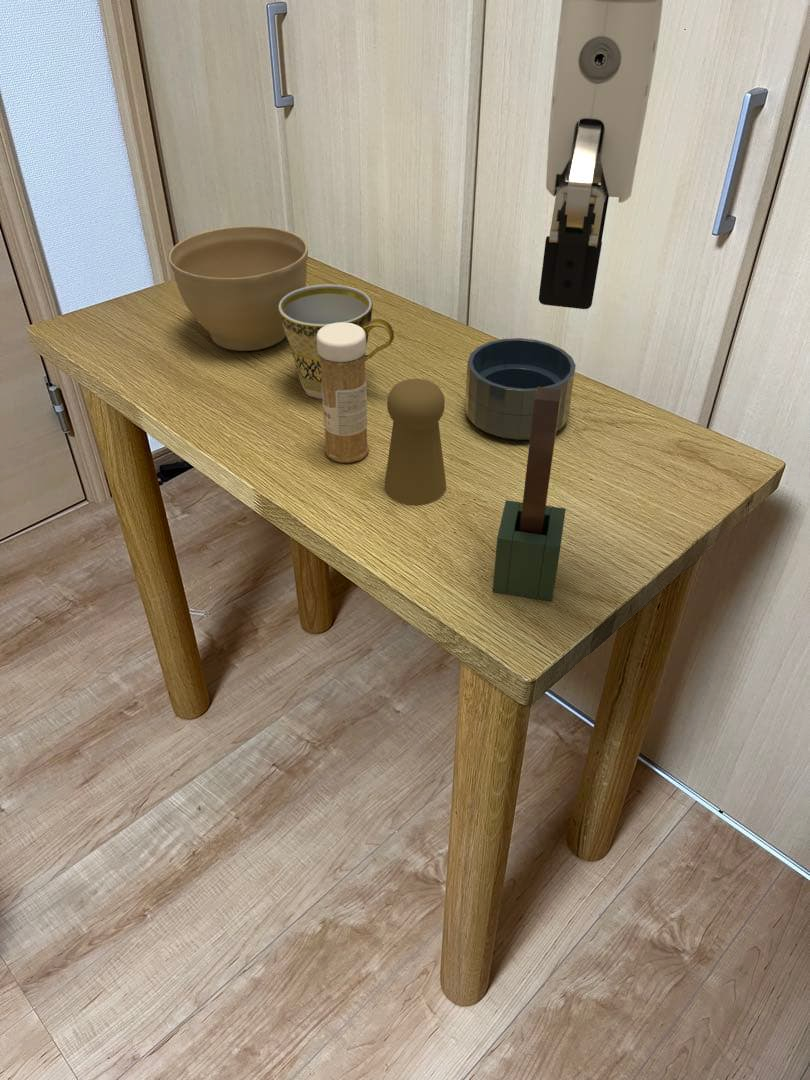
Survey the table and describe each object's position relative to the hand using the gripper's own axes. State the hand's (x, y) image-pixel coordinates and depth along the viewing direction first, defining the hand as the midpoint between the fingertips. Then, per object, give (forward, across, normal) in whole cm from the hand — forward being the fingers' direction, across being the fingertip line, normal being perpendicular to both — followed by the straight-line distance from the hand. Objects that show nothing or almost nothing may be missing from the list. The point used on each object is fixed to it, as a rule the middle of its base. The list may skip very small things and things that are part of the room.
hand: (571, 272), depth 55 cm
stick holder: (+27, 0, 0) cm, 27 cm away
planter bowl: (+28, +36, +39) cm, 60 cm away
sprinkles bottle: (+28, +14, +20) cm, 37 cm away
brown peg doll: (+27, +10, +12) cm, 32 cm away
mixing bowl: (+27, +25, +4) cm, 37 cm away
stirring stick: (+27, 0, 0) cm, 27 cm away
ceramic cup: (+28, +26, +24) cm, 45 cm away
